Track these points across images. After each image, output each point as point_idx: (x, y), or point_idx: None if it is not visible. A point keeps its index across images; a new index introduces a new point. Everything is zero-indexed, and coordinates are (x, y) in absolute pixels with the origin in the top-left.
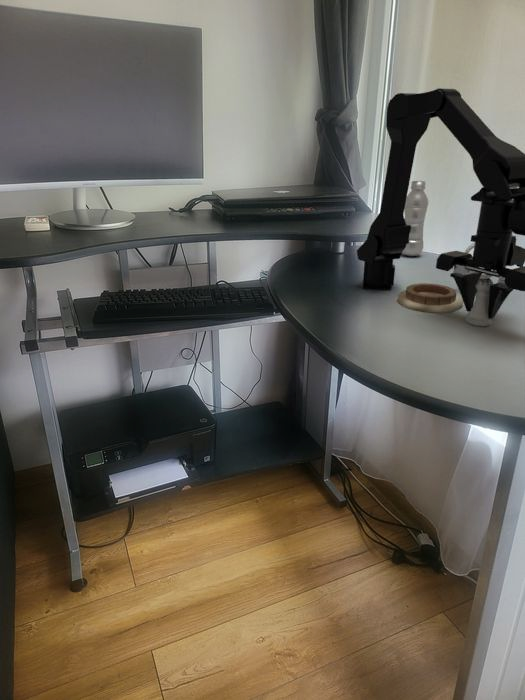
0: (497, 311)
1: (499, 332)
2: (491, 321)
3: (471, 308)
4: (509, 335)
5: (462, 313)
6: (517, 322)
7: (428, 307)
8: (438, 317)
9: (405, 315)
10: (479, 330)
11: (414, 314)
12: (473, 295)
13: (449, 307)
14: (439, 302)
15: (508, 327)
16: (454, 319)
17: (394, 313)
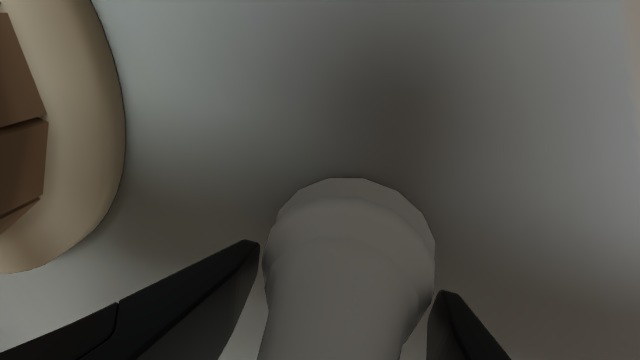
0: (489, 337)
1: (521, 310)
2: (425, 222)
3: (268, 304)
4: (594, 323)
5: (184, 134)
6: (603, 23)
7: (46, 262)
8: None
9: None
10: (409, 338)
11: (69, 308)
12: (189, 331)
13: (99, 185)
14: (21, 201)
15: (554, 195)
16: None
17: (24, 341)
